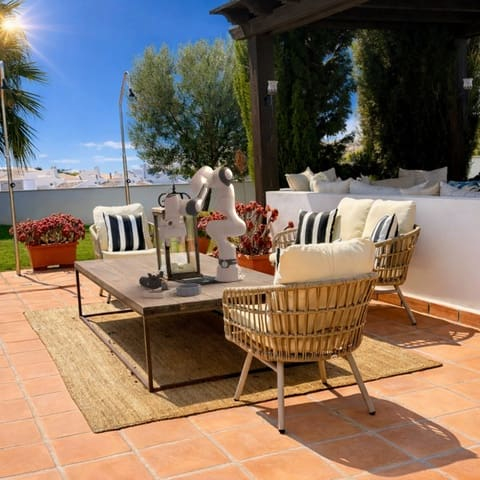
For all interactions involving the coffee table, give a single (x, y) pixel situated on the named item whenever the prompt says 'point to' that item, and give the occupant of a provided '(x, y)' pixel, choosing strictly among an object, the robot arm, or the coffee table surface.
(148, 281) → the laser sight
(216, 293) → the coffee table surface
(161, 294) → the cradle
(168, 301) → the coffee table surface
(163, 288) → the cell
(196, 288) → the blue-gray round bowl
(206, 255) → the coffee table surface
